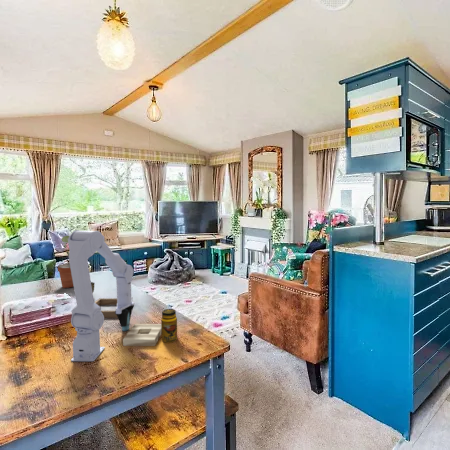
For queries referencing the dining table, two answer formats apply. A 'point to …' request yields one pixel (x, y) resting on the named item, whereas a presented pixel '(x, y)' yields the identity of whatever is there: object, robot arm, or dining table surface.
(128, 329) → the peg
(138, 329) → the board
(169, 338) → the condiment
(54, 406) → the dining table surface
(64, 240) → the potted plant
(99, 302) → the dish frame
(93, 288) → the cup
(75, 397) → the dining table surface
